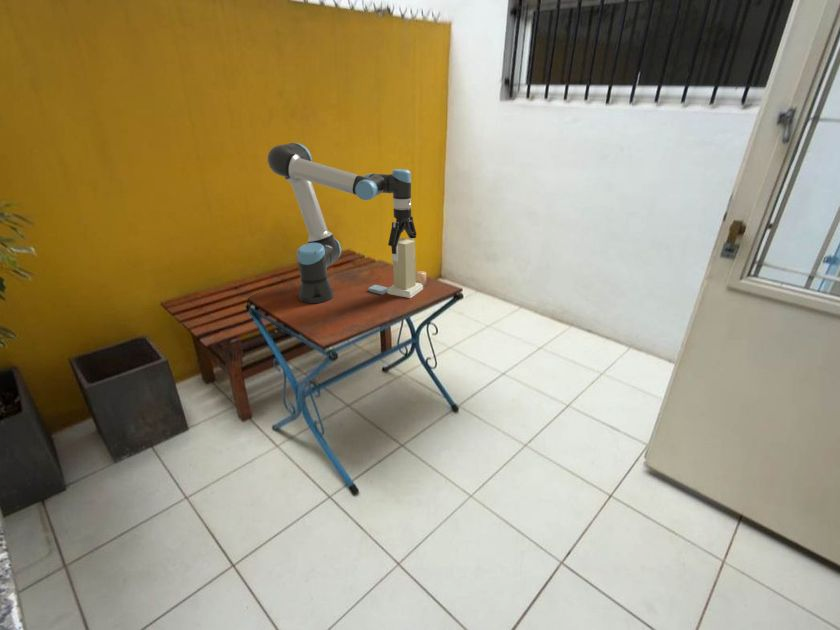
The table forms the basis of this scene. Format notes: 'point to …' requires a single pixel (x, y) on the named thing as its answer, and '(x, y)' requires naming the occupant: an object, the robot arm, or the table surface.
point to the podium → (405, 290)
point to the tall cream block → (405, 265)
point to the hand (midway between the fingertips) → (403, 256)
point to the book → (378, 289)
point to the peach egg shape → (421, 277)
